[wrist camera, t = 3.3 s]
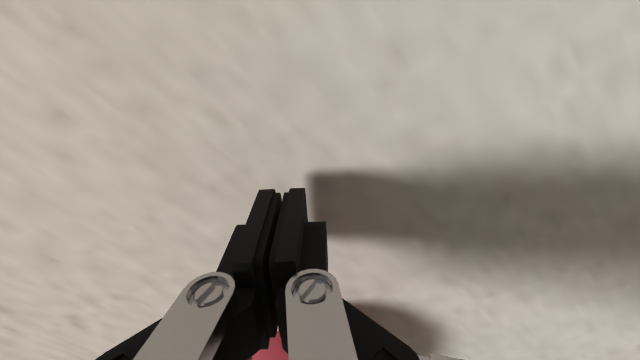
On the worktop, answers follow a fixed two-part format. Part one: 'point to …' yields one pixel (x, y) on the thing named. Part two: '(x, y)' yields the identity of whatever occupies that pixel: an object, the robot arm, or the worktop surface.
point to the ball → (272, 351)
